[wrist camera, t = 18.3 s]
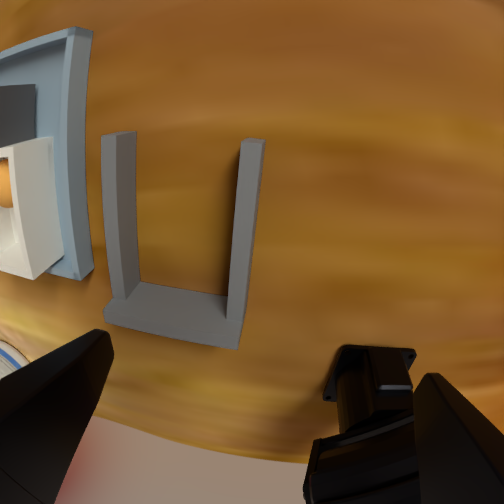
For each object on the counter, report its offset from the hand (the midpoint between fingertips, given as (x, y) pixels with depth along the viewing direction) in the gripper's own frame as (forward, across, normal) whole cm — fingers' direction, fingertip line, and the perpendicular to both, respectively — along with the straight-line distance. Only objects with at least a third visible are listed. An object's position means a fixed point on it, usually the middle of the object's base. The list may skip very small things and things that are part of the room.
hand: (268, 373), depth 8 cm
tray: (+12, +19, -3) cm, 23 cm away
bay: (+12, +6, +1) cm, 13 cm away
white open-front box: (+11, +19, -2) cm, 22 cm away
